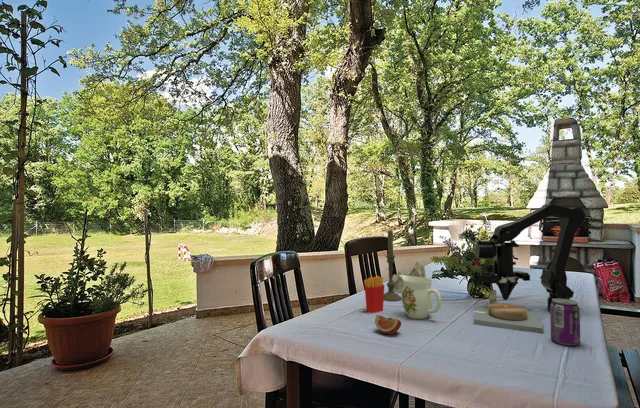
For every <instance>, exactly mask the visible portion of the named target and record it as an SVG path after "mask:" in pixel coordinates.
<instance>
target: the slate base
mask: <svg viewBox="0 0 640 408" xmlns="http://www.w3.org/2000/svg"><path fill="white" fill-rule="evenodd" d="M472 312H473V313H475V315H474V317H473V325H479V326H486V327H494V328H499V329H500V328H501V329H507V330H508V329H509V330H515V331H522V332H523V331H524V332H531V333H539V334H544V325H543V321H542V318H541V314H540V311H534V310H533V311H532V310H527V319H524V320H507V319H501V318H497V317H494V316H491V315H490V314H489V312H488V305H478V306H477V309H476V310H473V311H472Z"/></svg>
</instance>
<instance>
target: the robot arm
mask: <svg viewBox="0 0 640 408" xmlns="http://www.w3.org/2000/svg"><path fill="white" fill-rule="evenodd" d="M550 216H551V217H554V218H558V223H559V228H560V231H559V234H558V238H557V241H556V245H555V248H554V252H553V255H552V259H551V262H550V265H549V267H548V268H547V269H546V268H542V271H541V276H540V277H539V279H540V284H541V285H542V286H543V287H544V289H545V291H546V293H548V297H547V296H546V297H547V302H546V303H547V306H546V308H547V310H549V312H550V305H551V303H552V299H555V298H562V299H570V300H571V298H572V299H573V297H574V294H575V292H574V290H572V289H571V288H570V287H569V286H568V285H567V282H568V277H567V271H566V268H567V265H568V261H569V258H570V253H571V249H572V247H573V244H574V240H575V236H576V233H577V232H578V230H580V228H581V227H582V226H583V224H584V222H585V219H586V216H587V214H586V212H585V211H584V210H583V209H582V208H580V207H565V206H559V205H555V204H553V203H548V204H547V203H546V204H543V205H542V206H540V207H539V208H536V209H534V210H533V211H531V212H529V213H527V214H525V215H524V216H522V217H520V218H517V219H516V220H514V221H509V222H507V223H502V224H501V225H498V226H496V227H495V228H494V231H493V234H492V235H491V237H490V238H489V239H488V240H476V244H475V246H474V247H475V248H474V256H475V258H476V259H484V260H485V259H489V260H490V259H491V260H492V259H494V257H496V260H493V264H489V263H487V262H486V263H481V270H482V272H483V273H480V276H479V281H480V282H484V283H487V284H492V285H493V284H495V285H497V287H498V289H499V291H500V295H501V297H502V300H504V301H508V299H509V298H510V296H511V294H512V291H513V290H514V289H515V287H516V286H517V285H519V282H518V281H516V279H517V280H518V279H521V280H522V281H524V282H529V281H531V275H530V273H528V272H526V271H525V272H524V271H520V270H516V271H515V270H514V266H515V265H517V261H514V248H519V247H520V245H519V244H518V243H517V242H516V241H515V238H517V237H518V236H520V234H521V233H522V232H523V231H524V230H526V229H528V228H530V227H532V226H533V225H535V224H537V223H539V222H541V221H543V220H545V219H546V218H549V217H550Z"/></svg>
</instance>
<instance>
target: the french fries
mask: <svg viewBox="0 0 640 408" xmlns="http://www.w3.org/2000/svg"><path fill="white" fill-rule="evenodd" d="M363 281H364V293H365V296H364V297H365V307H366V308H365V309H366V312H367V313H371V314H375V313H381V312H383V310H384V302H385V300H384V294H385V284H384V276H379V275H377V276H370V277H368V278H366V279H364V280H363Z"/></svg>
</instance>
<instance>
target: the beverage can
mask: <svg viewBox="0 0 640 408" xmlns="http://www.w3.org/2000/svg"><path fill="white" fill-rule="evenodd" d="M549 314H550V317H549V318H550V321H549V322H550V339H551V340H552V341H554V342H555V343H557V344H560V345H564V346H568V347H569V346H570V347H571V346H576V345H580V343H581V309H580V307H579V305H578V301H577V300H575V299H571V298H570V299H562V298H555V299H552V303H551V305H550V311H549Z"/></svg>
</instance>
